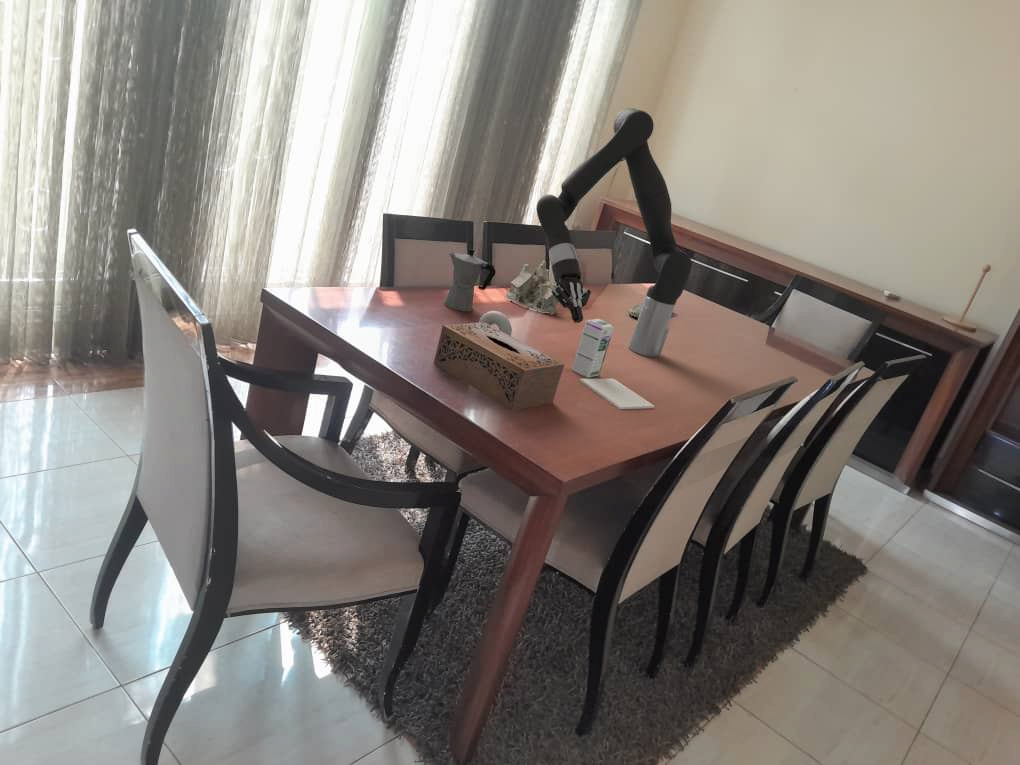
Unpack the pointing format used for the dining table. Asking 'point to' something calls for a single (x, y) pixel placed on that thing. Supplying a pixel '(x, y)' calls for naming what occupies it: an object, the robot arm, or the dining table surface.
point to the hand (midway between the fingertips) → (578, 321)
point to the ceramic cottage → (534, 289)
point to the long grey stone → (635, 310)
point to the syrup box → (592, 347)
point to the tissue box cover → (498, 365)
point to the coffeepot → (466, 280)
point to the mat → (617, 393)
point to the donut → (497, 321)
